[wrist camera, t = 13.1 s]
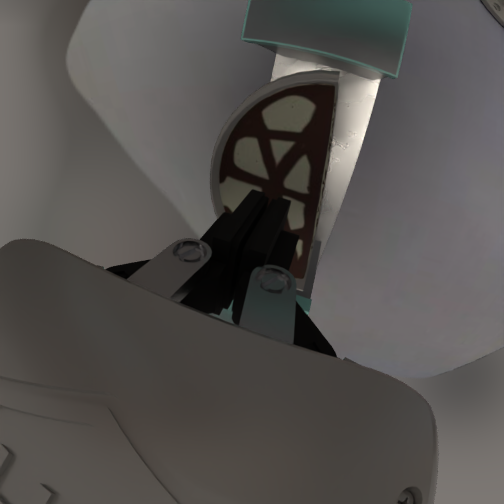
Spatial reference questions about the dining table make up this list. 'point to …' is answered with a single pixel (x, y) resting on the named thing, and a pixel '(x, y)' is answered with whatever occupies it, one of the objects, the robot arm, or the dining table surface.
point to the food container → (280, 153)
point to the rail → (338, 134)
